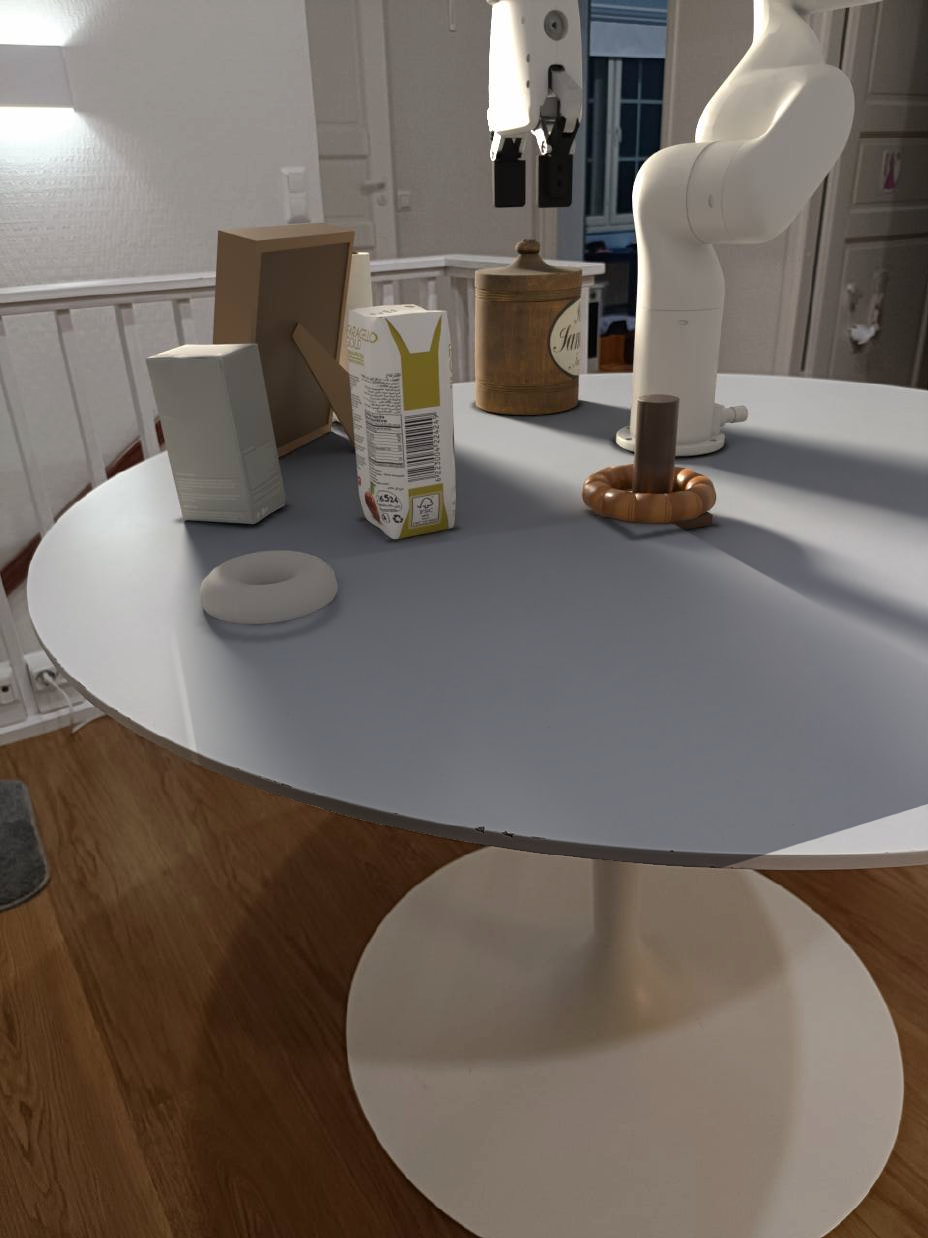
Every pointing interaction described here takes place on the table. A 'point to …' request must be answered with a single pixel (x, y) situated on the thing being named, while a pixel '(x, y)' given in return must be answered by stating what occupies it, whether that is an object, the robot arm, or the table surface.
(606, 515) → the ring
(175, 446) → the cosmetic box
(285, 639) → the table surface
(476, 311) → the wooden container
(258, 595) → the donut
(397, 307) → the juice carton
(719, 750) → the table surface
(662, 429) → the post
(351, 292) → the paper towel roll
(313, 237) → the photo frame
